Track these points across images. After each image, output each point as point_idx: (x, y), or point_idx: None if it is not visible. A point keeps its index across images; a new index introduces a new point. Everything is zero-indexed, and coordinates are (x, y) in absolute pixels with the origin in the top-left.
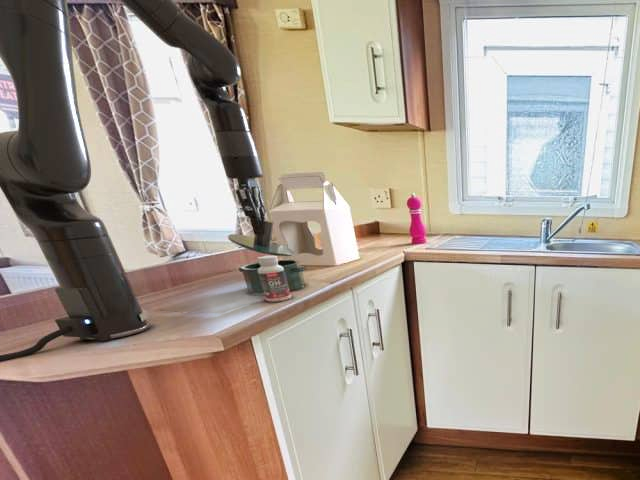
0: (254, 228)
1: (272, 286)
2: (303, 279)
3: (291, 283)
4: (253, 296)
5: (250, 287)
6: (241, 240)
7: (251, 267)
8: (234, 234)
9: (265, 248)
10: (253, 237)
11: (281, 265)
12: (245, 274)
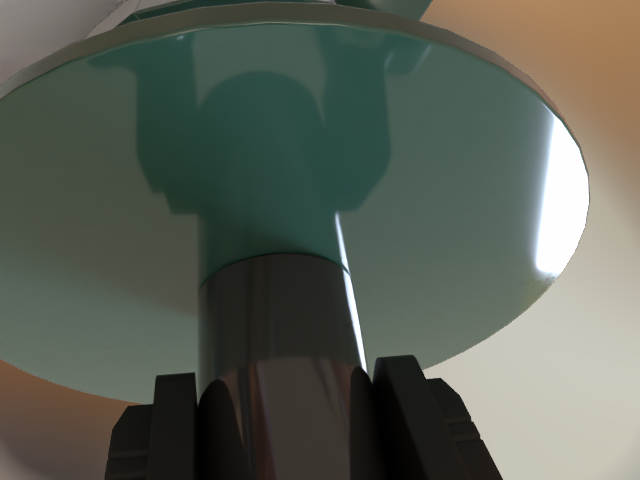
0: (112, 457)
1: None
2: None
3: None
4: (51, 29)
5: (105, 21)
6: (134, 188)
7: None
8: (445, 60)
9: (112, 337)
10: (545, 205)
11: None
12: (102, 31)
